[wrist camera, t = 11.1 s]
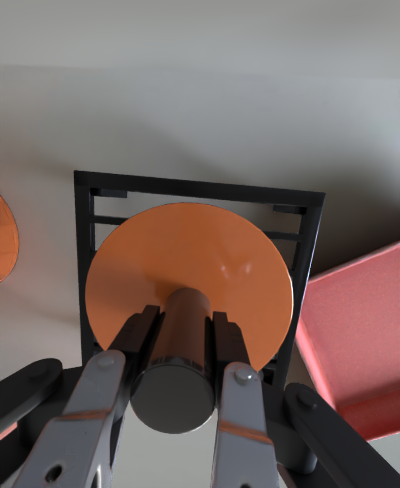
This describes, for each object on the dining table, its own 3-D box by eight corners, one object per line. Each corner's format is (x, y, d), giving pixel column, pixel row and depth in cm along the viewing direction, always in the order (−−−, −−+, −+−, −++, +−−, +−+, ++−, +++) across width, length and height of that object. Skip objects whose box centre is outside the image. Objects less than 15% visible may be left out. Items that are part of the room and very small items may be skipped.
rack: (110, 179, 17) (72, 169, 12) (292, 195, 17) (326, 192, 12) (111, 338, 21) (82, 380, 16) (263, 352, 20) (282, 400, 16)
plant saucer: (324, 416, 22) (345, 453, 19) (262, 279, 19) (274, 295, 16) (497, 358, 20) (554, 388, 17) (460, 193, 17) (521, 191, 13)
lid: (91, 193, 12) (-56, 180, 5) (304, 212, 12) (433, 224, 5) (96, 371, 15) (3, 514, 8) (269, 388, 15) (324, 548, 8)
